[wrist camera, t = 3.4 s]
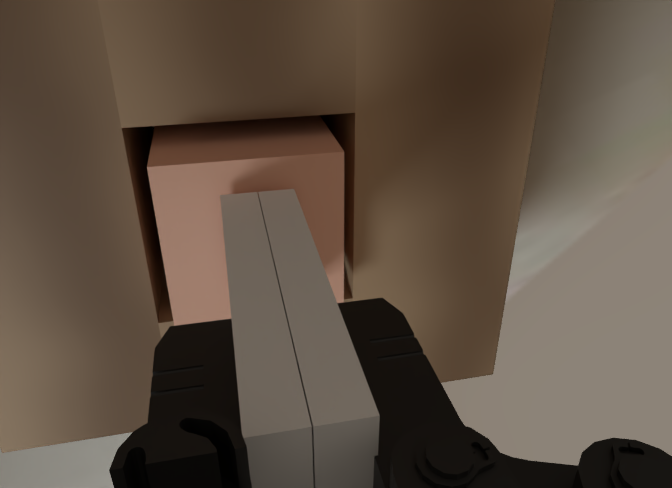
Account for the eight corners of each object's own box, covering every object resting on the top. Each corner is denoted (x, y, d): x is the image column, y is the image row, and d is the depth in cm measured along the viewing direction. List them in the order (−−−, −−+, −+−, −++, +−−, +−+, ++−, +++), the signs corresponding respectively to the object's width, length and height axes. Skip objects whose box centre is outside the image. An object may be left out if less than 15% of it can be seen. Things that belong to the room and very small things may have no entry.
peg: (179, 220, 18) (175, 330, 13) (160, 94, 16) (147, 167, 11) (304, 208, 19) (343, 307, 14) (300, 87, 17) (344, 151, 12)
